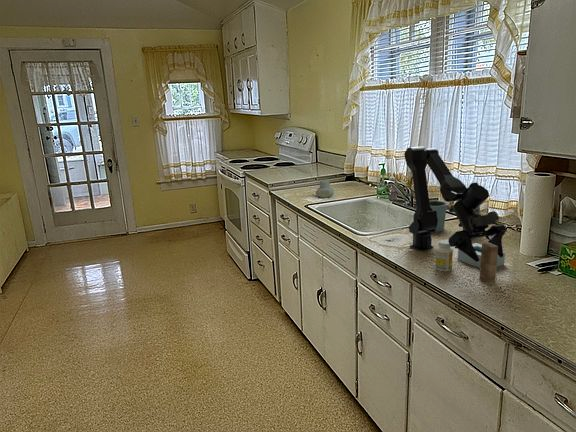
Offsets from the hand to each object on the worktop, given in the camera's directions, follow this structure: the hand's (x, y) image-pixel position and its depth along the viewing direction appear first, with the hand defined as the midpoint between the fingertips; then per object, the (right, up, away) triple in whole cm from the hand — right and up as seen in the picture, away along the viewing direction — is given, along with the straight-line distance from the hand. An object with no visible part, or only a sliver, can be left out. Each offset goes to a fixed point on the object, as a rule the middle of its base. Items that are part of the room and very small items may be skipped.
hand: (490, 259), depth 132 cm
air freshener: (-40, +25, +129) cm, 138 cm away
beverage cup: (+13, +5, +46) cm, 48 cm away
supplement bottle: (-10, -5, +14) cm, 17 cm away
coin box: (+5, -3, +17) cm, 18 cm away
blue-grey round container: (+2, +7, +56) cm, 57 cm away
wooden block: (0, -7, +2) cm, 8 cm away
